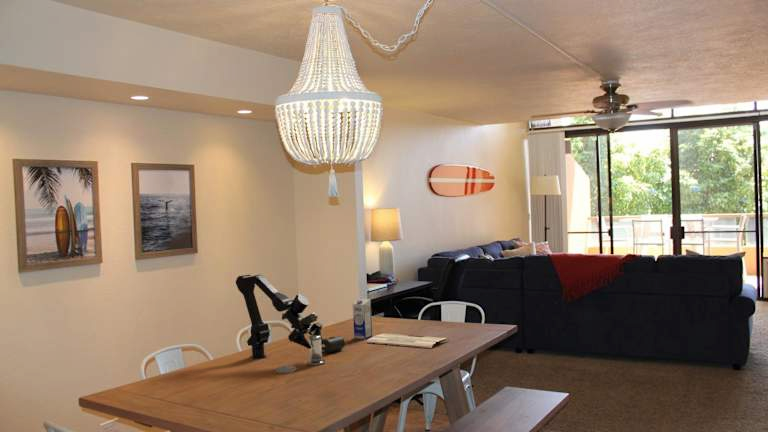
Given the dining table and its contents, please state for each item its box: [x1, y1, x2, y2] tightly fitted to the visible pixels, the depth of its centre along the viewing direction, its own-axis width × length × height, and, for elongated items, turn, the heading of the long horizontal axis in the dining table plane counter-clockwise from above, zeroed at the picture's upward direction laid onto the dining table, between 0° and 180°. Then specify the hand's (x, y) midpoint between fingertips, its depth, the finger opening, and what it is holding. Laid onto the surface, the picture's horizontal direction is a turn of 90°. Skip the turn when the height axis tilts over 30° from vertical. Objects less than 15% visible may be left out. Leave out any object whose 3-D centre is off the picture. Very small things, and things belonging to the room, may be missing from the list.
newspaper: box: [366, 333, 450, 349], centre depth 334 cm, size 37×19×3 cm, turn 58°
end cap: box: [322, 335, 346, 354], centre depth 321 cm, size 10×7×7 cm
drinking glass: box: [308, 335, 323, 359], centre depth 299 cm, size 5×5×9 cm
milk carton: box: [352, 298, 373, 340], centre depth 351 cm, size 7×7×20 cm
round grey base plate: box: [306, 357, 326, 367], centre depth 299 cm, size 8×8×3 cm
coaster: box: [274, 365, 297, 374], centre depth 288 cm, size 9×9×1 cm
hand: (316, 346), depth 298 cm, fingers open, 9 cm apart
